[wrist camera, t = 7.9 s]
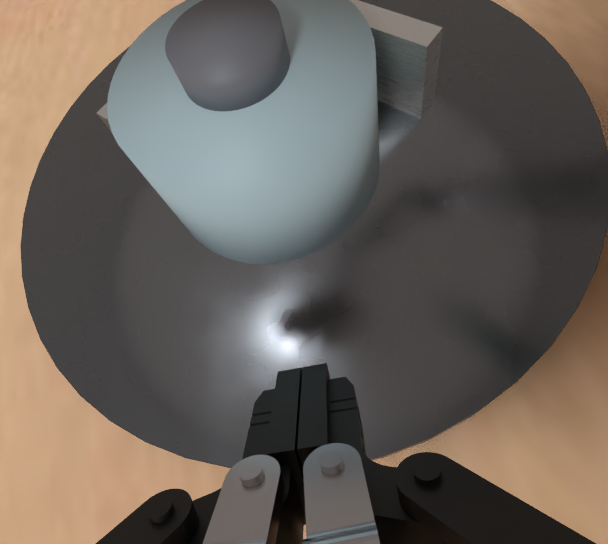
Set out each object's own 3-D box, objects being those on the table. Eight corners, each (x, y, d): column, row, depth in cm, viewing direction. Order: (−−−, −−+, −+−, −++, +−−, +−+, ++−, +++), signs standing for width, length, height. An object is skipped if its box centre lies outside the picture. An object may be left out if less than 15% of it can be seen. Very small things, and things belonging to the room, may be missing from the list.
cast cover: (235, 76, 25) (177, -73, 18) (410, 114, 22) (419, -50, 15) (139, 225, 22) (25, 113, 15) (327, 295, 18) (290, 192, 12)
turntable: (729, 408, 16) (885, 378, 11) (3, 518, 18) (-138, 534, 14) (484, -54, 28) (505, -169, 23) (68, 55, 31) (6, -26, 26)
